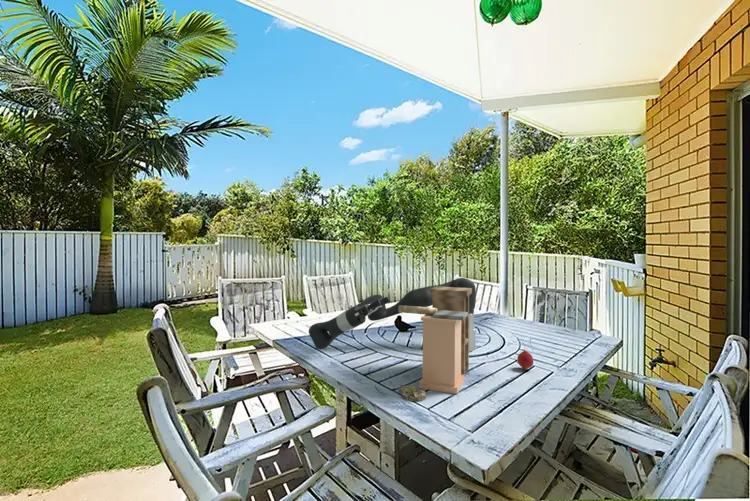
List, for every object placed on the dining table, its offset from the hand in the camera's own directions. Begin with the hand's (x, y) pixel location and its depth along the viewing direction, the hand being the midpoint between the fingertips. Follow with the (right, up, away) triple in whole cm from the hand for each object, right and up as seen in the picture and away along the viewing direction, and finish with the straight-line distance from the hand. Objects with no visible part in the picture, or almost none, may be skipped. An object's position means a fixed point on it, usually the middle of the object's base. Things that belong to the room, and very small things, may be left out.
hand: (384, 300), depth 134 cm
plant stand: (+26, -28, +4) cm, 38 cm away
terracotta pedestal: (+20, -28, -9) cm, 36 cm away
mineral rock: (+9, -29, -18) cm, 35 cm away
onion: (+56, -28, +6) cm, 63 cm away
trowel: (+16, -4, -8) cm, 19 cm away
